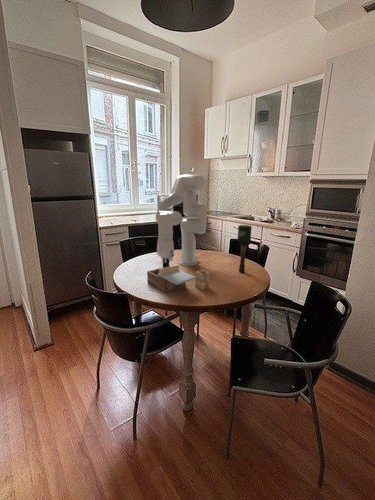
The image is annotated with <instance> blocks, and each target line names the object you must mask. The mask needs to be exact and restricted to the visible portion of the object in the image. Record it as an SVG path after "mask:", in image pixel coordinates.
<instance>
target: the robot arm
mask: <svg viewBox="0 0 375 500" xmlns="http://www.w3.org/2000/svg"><path fill="white" fill-rule="evenodd" d="M205 183H206V180H205V177H204V175H203V174H180V175H178V176H177V177H176V178H175V179H174V184H173V186H172V188H171V193H170V194H169V195H168V196H167V197H165V198H164V199H162V201H160V203H159V204H158V206H157V209H156V212H155V221H156V223H157V225H158V227H157V228H158V238H157V244H156V254H157V256H158V257H160V258H161V262H162V267H167V266H170V262H171V261H173V258H174V257H175V247H174V240H173V238H174V235H173V234H174V229H173V227H174V226H178V225H180V231H181V260H180V261H179V265H181V266H184V267H193V266H197V264H198V261H197V260H200V259H201V256H199V255H198V256H196V243H197V242H196V241H197V240H196V237H195V235H194V234H201V235H202V234H205V233H206V230H207V222H208V221H207V220H208V207H207V204H206V203H205V202H197V193H196V191H199V190H202V189H203V188H204V187H205ZM182 203H183V205H182V208H183V209H182V211H183V212H182V213H183V215H184V216H186V217H190V218H183V217H182V213H180V212H179V211H176V210H174V211H173V210H168V209H170V208H171V207H175V206H177V205H179V204H182ZM191 217H192V218H191Z"/></svg>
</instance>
